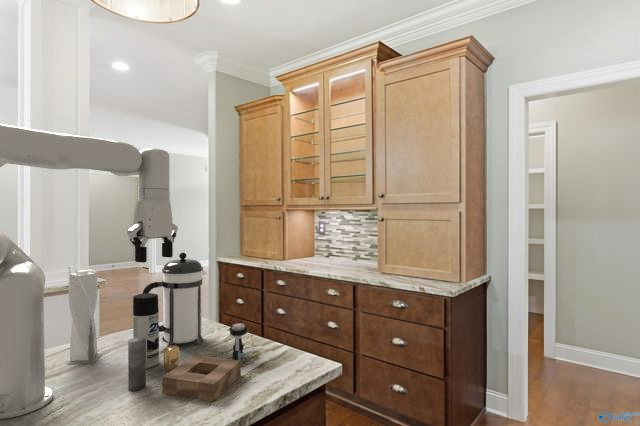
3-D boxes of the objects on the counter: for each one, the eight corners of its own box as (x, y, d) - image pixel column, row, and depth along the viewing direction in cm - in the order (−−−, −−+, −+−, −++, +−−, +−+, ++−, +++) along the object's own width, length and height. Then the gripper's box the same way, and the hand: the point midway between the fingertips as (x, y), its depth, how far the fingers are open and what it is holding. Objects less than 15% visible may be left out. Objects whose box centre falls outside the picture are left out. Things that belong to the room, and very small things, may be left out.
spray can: (149, 370, 105) (149, 298, 105) (127, 368, 107) (127, 297, 106) (163, 361, 112) (163, 293, 111) (143, 358, 113) (143, 292, 113)
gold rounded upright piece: (173, 373, 103) (173, 352, 103) (160, 372, 104) (160, 350, 104) (182, 367, 107) (182, 346, 107) (169, 366, 108) (169, 345, 108)
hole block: (213, 401, 89) (213, 384, 89) (162, 393, 93) (162, 377, 93) (240, 375, 103) (240, 360, 103) (194, 369, 106) (194, 355, 106)
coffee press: (176, 332, 137) (176, 248, 136) (215, 337, 132) (215, 250, 131) (139, 349, 120) (139, 255, 119) (182, 356, 115) (182, 257, 114)
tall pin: (138, 392, 93) (138, 343, 93) (124, 390, 94) (124, 342, 94) (149, 384, 97) (149, 338, 97) (136, 382, 98) (136, 336, 98)
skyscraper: (61, 365, 109) (60, 268, 108) (74, 354, 117) (73, 263, 116) (93, 363, 110) (92, 267, 109) (104, 352, 118) (103, 263, 117)
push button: (232, 352, 118) (232, 320, 118) (249, 352, 118) (249, 320, 118) (227, 361, 112) (227, 327, 111) (245, 361, 112) (245, 327, 112)
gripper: (165, 196, 111) (165, 254, 112) (117, 195, 95) (117, 263, 95) (187, 196, 109) (187, 256, 109) (141, 195, 93) (141, 265, 93)
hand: (154, 259), depth 102 cm, fingers open, 9 cm apart
